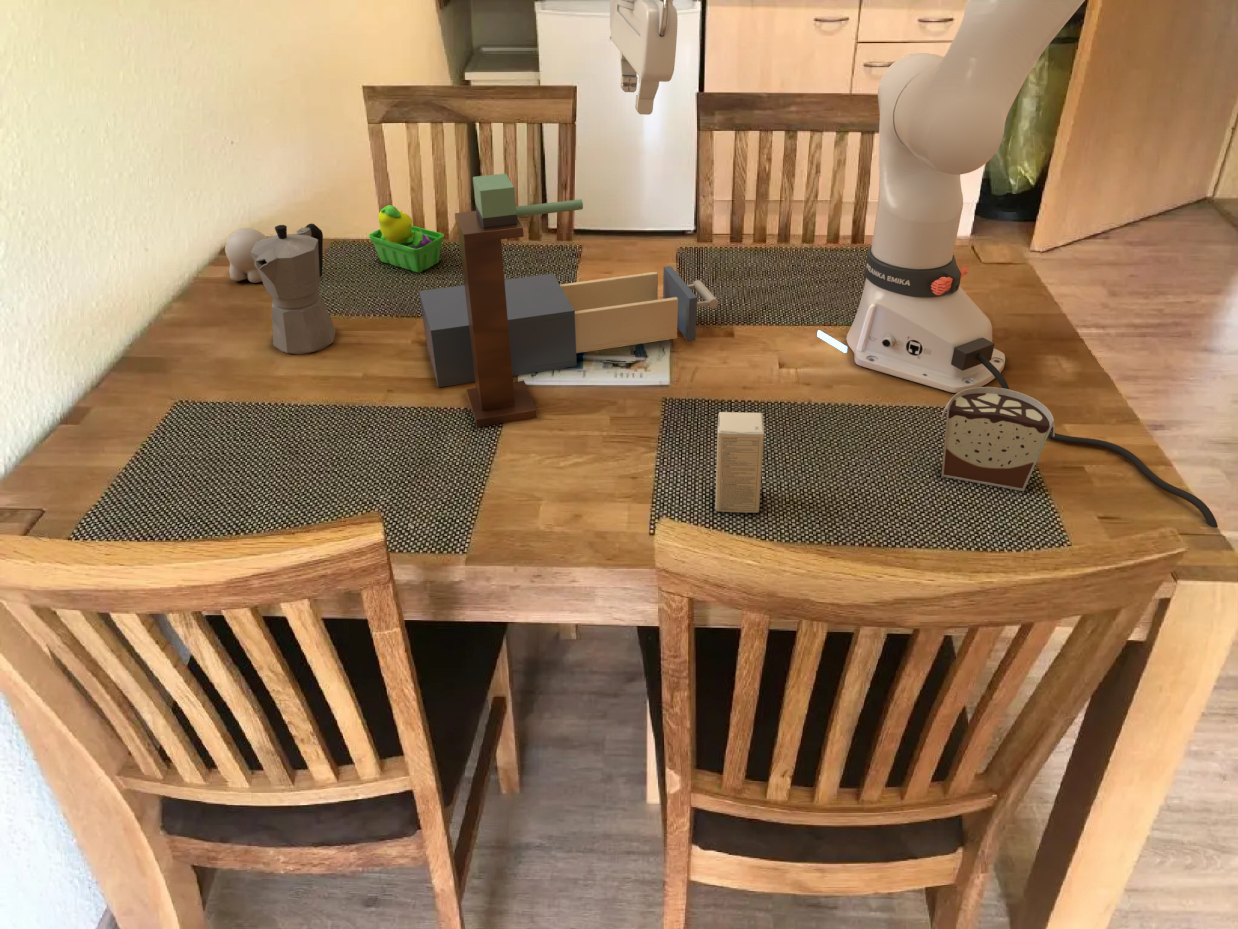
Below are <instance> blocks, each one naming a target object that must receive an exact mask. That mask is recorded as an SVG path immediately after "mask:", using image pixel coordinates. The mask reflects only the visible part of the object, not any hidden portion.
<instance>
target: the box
mask: <svg viewBox="0 0 1238 929" xmlns="http://www.w3.org/2000/svg"><path fill="white" fill-rule="evenodd" d="M717 416H718V417H717V433H716V434H717V436H716V438H717V439H716V441H717V442H716V467H715V468H716V470H715V471H716V473H715V474H716V475H715V502H714V503H715V505H714V507H715V511H716V512H722V513H743V514H744V513H745V514H746V513H748V514H750V513H754V514H756V513H759V512H760V502H761V485H762V484H761V483H762V470H763V457H764V456H763V454H764V439H765V423H764V422H765V421H764V414H763V413H762V412H745V411H744V412H743V411H742V412H741V411H738V412H737V411H735V412H733V411H720V412H718V415H717Z"/></svg>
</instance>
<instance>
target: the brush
mask: <svg viewBox="0 0 1238 929" xmlns="http://www.w3.org/2000/svg"><path fill="white" fill-rule="evenodd" d="M472 182H473V193H474V203H475V211H476V214H477V216H478V218H479V220H480V222H481V224H482V226H483V228H491V227H499V226H508V225H516V224H517V218H520V217H528V216H529V217H530V216H538V215H545V214H554V213H555V214H556V213H564V212H573V211H581V210H583V209H584V203H583V200H582V199H581V198H580V199H573V200H572V199H571V200H562V201H554V202H544V203H536V204H527V205H518V206H517V204H516V191H515V190H516V189H515V186H514V185H513V183H512V181H511V179H510V178H509V176H508V175H507V173H497V174H488V175H478V176H473V177H472Z"/></svg>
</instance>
